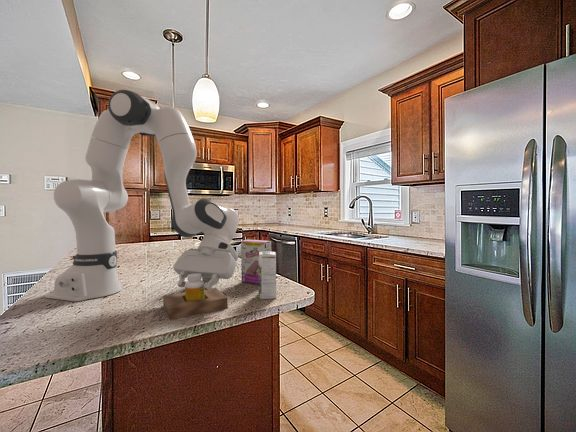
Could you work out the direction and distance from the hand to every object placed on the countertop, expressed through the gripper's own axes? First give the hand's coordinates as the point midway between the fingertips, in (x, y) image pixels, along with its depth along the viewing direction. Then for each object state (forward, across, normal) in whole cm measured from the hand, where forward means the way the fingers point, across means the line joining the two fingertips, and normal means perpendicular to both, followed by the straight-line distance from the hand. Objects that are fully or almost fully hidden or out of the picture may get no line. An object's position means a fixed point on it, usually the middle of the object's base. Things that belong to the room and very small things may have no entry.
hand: (193, 288), depth 83 cm
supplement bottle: (+4, 0, +5) cm, 6 cm away
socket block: (+4, 0, +5) cm, 6 cm away
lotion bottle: (-12, -11, +21) cm, 27 cm away
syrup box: (-7, +16, +16) cm, 24 cm away
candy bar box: (-17, +6, +26) cm, 31 cm away
